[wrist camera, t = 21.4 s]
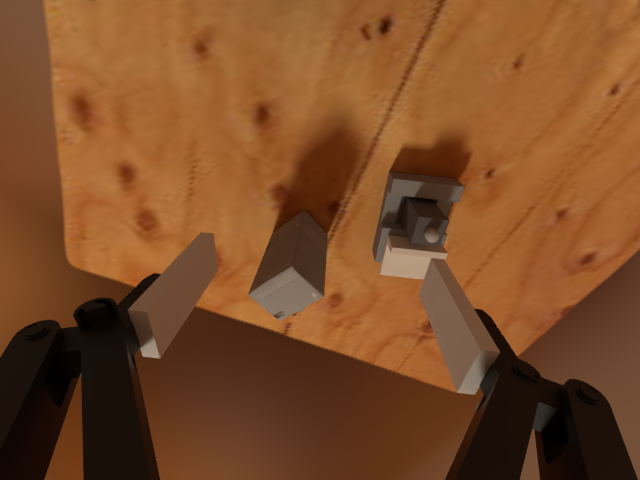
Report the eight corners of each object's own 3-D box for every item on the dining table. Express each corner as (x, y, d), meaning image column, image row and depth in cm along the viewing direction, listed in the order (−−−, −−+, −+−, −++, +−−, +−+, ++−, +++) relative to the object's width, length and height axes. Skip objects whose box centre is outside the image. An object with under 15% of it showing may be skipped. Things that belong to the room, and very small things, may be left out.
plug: (405, 195, 43) (421, 221, 35) (431, 198, 43) (453, 225, 35) (399, 218, 45) (413, 248, 37) (424, 221, 45) (443, 252, 37)
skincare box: (305, 207, 46) (290, 259, 32) (331, 237, 49) (328, 297, 35) (269, 234, 49) (241, 292, 35) (295, 261, 52) (279, 325, 38)
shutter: (388, 235, 43) (392, 247, 40) (439, 240, 43) (447, 253, 40) (379, 271, 46) (382, 286, 43) (426, 277, 46) (433, 291, 43)
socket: (389, 171, 42) (393, 178, 39) (454, 178, 42) (464, 186, 39) (372, 249, 49) (374, 261, 46) (428, 255, 49) (435, 268, 46)
